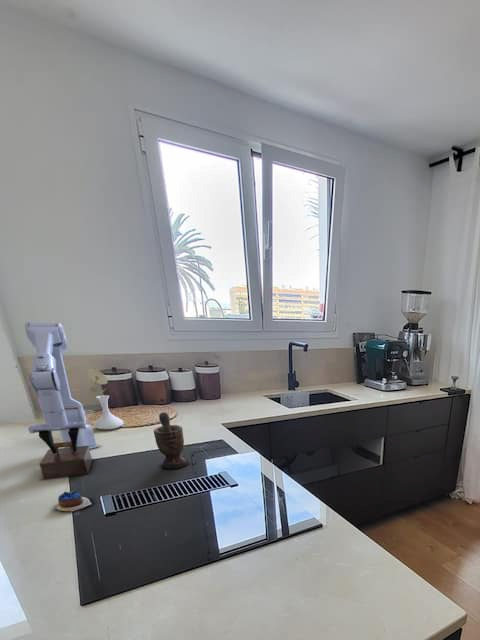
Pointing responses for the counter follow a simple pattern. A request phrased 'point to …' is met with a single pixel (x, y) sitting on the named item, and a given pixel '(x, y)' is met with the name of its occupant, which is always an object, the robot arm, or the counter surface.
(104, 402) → the flower in vase
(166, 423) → the mortar and pestle
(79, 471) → the storage box
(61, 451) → the box lid
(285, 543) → the counter surface
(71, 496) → the dessert
